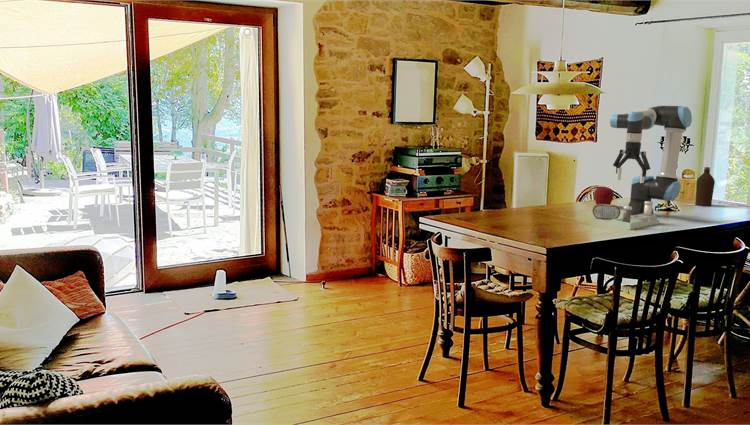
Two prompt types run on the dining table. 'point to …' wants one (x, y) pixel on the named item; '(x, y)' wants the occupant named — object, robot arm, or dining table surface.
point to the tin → (606, 211)
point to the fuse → (648, 208)
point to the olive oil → (705, 188)
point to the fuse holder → (646, 219)
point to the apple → (603, 195)
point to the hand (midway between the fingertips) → (630, 181)
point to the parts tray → (626, 223)
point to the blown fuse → (627, 214)
